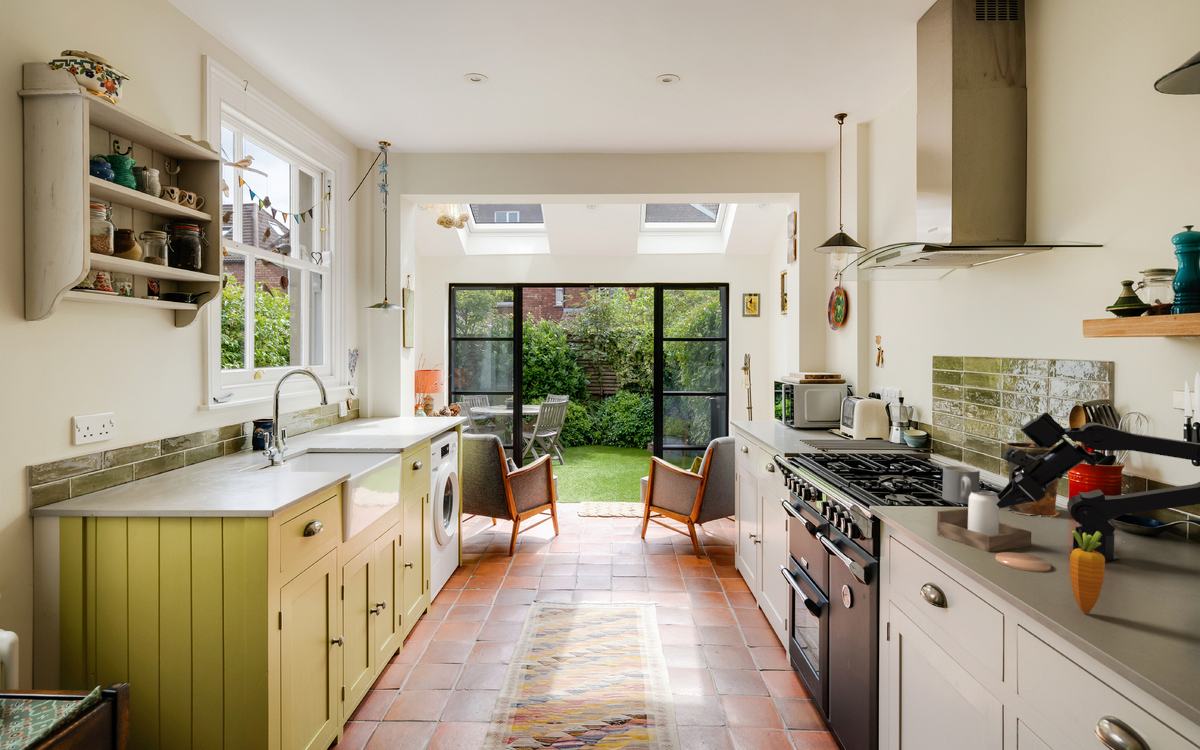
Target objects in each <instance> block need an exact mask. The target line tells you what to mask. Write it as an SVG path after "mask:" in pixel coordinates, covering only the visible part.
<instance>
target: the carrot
mask: <svg viewBox="0 0 1200 750" xmlns="http://www.w3.org/2000/svg"><path fill="white" fill-rule="evenodd" d="M1071 534H1072V536H1073V535H1074V536H1075V538H1076V540H1077V541H1078V543H1079V545H1080V547H1081V548H1082V549H1075V550H1073V549H1072V550H1071V551H1072V552H1071V554H1070V555H1069V573H1070V574H1069V575H1070V577H1069V578H1070V582H1071V588H1072V593H1073V596H1074V598H1075V601H1076V604H1077V605H1078V607H1079V609H1080V611H1081V612H1082V613H1083V614H1085V615H1087V614H1089V613H1090V612H1091V610H1093V609H1094V607H1095V605H1096V603H1097V602H1098V600H1099V598H1100V594H1101V591H1102V587H1103V584H1104V578H1105V577H1104V576H1105V569H1106V567H1105V566H1106V562H1105V557H1104V556H1103V555H1102V554H1101V553H1099V552H1096V551H1094V550H1093V549H1095V548H1097V547H1098V546H1099V545H1101V543H1099V542H1097V541H1098V540H1099V539H1100V537H1101V536H1102V534H1101V533H1100V532H1098V531H1096V532H1095V534H1094V535H1093V537H1092V536H1091V535H1087V534H1086V533H1083V542H1082V539H1081V537H1080V535H1079V534H1078V533H1077V532H1076V531H1075V530H1072V531H1071ZM1091 538H1092V539H1091ZM1090 539H1091V540H1090Z"/></svg>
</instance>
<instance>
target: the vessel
mask: <svg viewBox="0 0 1200 750" xmlns="http://www.w3.org/2000/svg"><path fill="white" fill-rule="evenodd" d="M1057 445H1058V444H1055V445H1053V446H1052V447H1050V448H1046V447H1045V446H1043V447H1039V446H1037V445H1036V444H1035V443H1034V442H1033V441H1024V442H1013V441H1012V442H1011V441H1010V442H1006V443H1005V445H1004V450H1005V452H1006V450H1007V449H1008V447H1009V446H1011V447H1014V448H1016V449H1019V448H1020V449H1021V450H1023V451H1026V454H1028V455H1030V456H1032V457H1036V456H1038V455H1044V454H1045V453H1046V454H1047V452H1048V451H1050V450H1051V449H1053V448H1054V447H1055V446H1057ZM1006 462H1007V465H1008V468H1009V474H1008V483H1009V482H1010V481H1011V479H1012V471H1014V469H1013V468H1015V467H1016V466H1018V465H1016V464H1014V463H1012V462H1008V461H1006ZM1014 472H1015V471H1014ZM1016 472H1017V471H1016ZM1016 472H1015V473H1016ZM1058 485H1059V478H1058V479H1056V480H1055V481H1053V482H1052V483H1050V484H1049V485H1047V488H1046V489H1044V490H1045V497H1044V498H1042V499H1041V500H1039V501H1038V502H1037V501H1036V500H1035V502H1029V503H1023V504H1018V505H1013V506H1008V507H1004V508H1005V509H1009V510H1012V511H1013V512H1012V511H1011V512H1012V513H1016V514H1018V515H1025V516H1026V515H1027V516H1030V515H1041V516H1050V517H1049V518H1052V517H1057V516H1058V515H1060V511H1058V510H1057V511H1056V506H1057V505H1056V503H1057V497H1058V495H1057V494H1058ZM1041 516H1040V517H1041Z"/></svg>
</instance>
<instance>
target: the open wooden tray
mask: <svg viewBox="0 0 1200 750" xmlns="http://www.w3.org/2000/svg"><path fill="white" fill-rule="evenodd" d="M936 525H937V526H936V528H937V529H936V535H937V534H938V536H940V535H942V536H941V537H943V536H944V537H943V538H946V537H947V538H946V539H949V538H950V539H949V540H952V539H953V540H952V541H955V540H956V541H955V542H957V543H960V544H963V543H964V545H966V546H970V547H973V548H976V549H979V550H981V551H984V552H986V553H987V552H988V553H990V552H991V553H992V552H997V551H1004V550H1013V549H1021V548H1028V547H1031V546H1032V534H1033V533H1032V531H1031V530H1026V529H1023V528H1020V527H1019V528H1018V527H1015V526H1012V525H1009V524H1005V523H1001V522H999V535H991V536H987V535H984V534H981V533H978V532H974V531H971V530H968V507H967V508H966V507H965V508H958V509H947V510H938V511H937V523H936Z"/></svg>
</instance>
